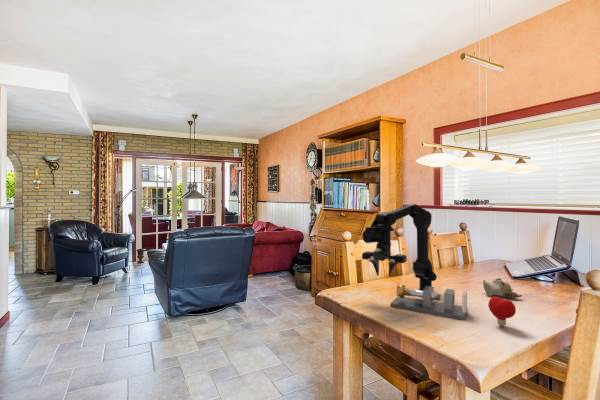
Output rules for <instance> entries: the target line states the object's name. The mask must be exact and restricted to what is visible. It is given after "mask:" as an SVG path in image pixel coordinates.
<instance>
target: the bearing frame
mask: <svg viewBox="0 0 600 400" xmlns="http://www.w3.org/2000/svg"><path fill="white" fill-rule="evenodd" d="M432 292H433V293H435V287H434V286H432V287H431V286H426V287H425V288H424V289H423V298H416V297H410V296H405V297H404V298H399V297H397V296H396V298H394V299H393V301H391V302H390V307H392V308H396V309H401V310H402V309H403V310H407V311H411V312H412V311H413V312H417V313H423V314H428V315H433V316H434V315H436V316H441V317H444V318H449V319H456V320H460V321H461V320H462V321H465V319H466V316H467V313H468V303H467V302H468V291H466V290H464V291H463V293H462V295H461V297H462V299H461V301H462V302H461V303H462V304H461V305H458V304H455V302H456V301H455V298H456V295H455V289H451V288H446V289H445V291H444V293H443V302H441V301H435V300H431V293H432Z"/></svg>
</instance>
